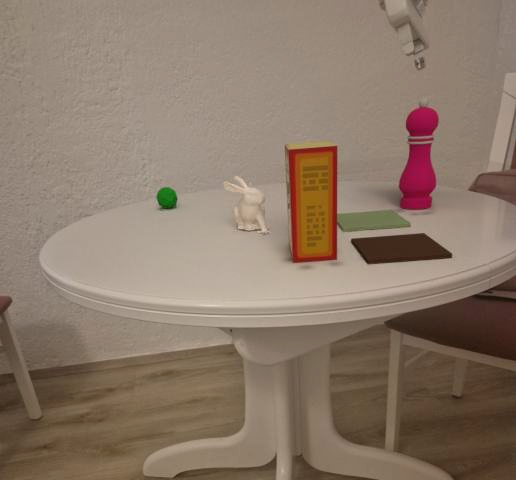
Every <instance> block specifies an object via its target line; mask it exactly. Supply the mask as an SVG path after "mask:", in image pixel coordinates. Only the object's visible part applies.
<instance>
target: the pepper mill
mask: <svg viewBox="0 0 516 480" xmlns="http://www.w3.org/2000/svg"><path fill="white" fill-rule="evenodd" d="M428 105H429V100H428V99H427V98H426V97H423V98H420V100H419V101H418V107H417V108H414V109H413V110H412V111H410V113H408V115H407V117H406V120H405V129H406V131H407V132H408V133H409V135H408V136H407V142H406V144H407V145H408V157H407V162H406V164H405V167H404V169H403V171H402V173H401V175H400V177H399V181H398V189H399V191H400V193H401V194H402V195H403V196H401V197H400V201H399V206H400V208H402V209H404V210H425V209H429V208H431V207H432V206H433V196H431V194H432V193H433V192H434V190H435V189H436V187H437V176H436V172H435V170H434V166H433V163H432V158H431V153H432V152H431V151H432V144H433V143H435V137H436V135H434V132H435V131H436V129H437V128H438V127H439V123H440V118H439V114H438V112H437V111H436V110H435V109H434V108H432V107H428Z"/></svg>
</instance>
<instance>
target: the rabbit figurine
mask: <svg viewBox="0 0 516 480" xmlns="http://www.w3.org/2000/svg"><path fill="white" fill-rule="evenodd" d="M233 180H234V182H236V184H235V183H231V182H229V181H223V183H222V184H223V188H224V190H226V191H228V192H230V193H233V194H235V193H236V194H239V195H242V197H241V199H239V200H238V202H237V205H235V206H234V208H233V211H232V215H233V219H234V221H235V222H236V224H237V229H238V230H244V231H251V232H252V231H254V230H257V234H263V235H265V234H266V235H267V234H270V231H269V230H268V228H267V225H266V220H265V215H266V208H265V205H264V203H265V201H266V198H265V195H264V194H263V192H262V191H261V190H260V189H259V188H257V187H253V186H252V183H251V182H249V184H247V183H246V182H245V180H243V178H242V177H240V176H239V175H234V177H233Z"/></svg>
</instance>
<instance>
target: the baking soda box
mask: <svg viewBox="0 0 516 480" xmlns="http://www.w3.org/2000/svg"><path fill="white" fill-rule="evenodd" d="M284 159H285V179H286V180H285V183H286V184H285V185H286V206H287V208H286V209H287V230H288V231H287V232H288V248H289V251H290V256H291V261H292V264H293V263H295V264H296V263H308V262H322V261H335V260H336V261H337V260H338V224H337V214H338V145H336V144H334V143H333V142H331V141H329V140H320V141H318V140H317V141H308V142H307V141H306V142H305V141H304V142H296V143H295V142H294V143H285V144H284Z"/></svg>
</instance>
